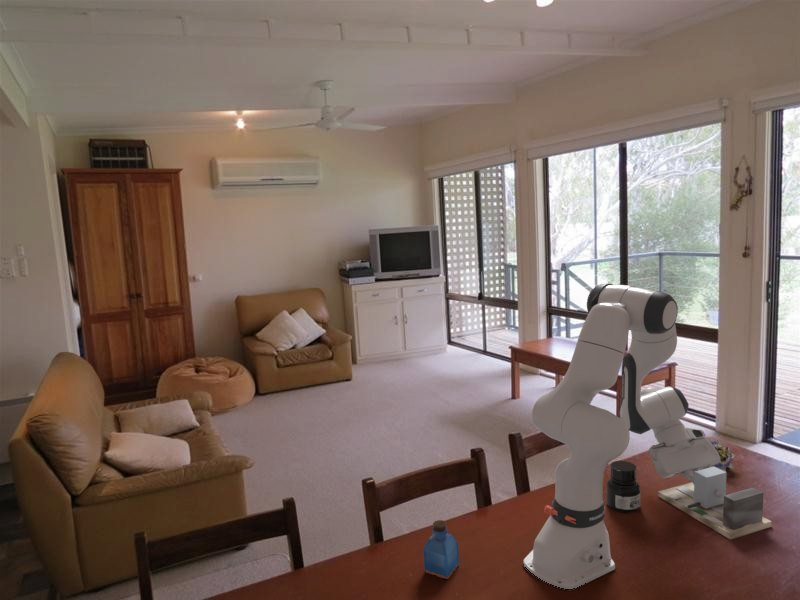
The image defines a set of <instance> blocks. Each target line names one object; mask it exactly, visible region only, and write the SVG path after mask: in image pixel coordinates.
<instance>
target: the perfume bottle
mask: <svg viewBox="0 0 800 600" xmlns="http://www.w3.org/2000/svg"><path fill="white" fill-rule="evenodd" d="M432 526H433V527H432V535H431V536H429V538H428V541H426V543H425V545H424V547H423V551H422V552H423V563H424V564H423V566H424V571H425V570H428V571H430V572H434V573H436V574H440V575H443V576H445V577H448V576H449V575H450V573H451V572H452V571H453V569H454V568H455V567H456V566H457V565H458V563H459V564H460V555H459V542H458V541H457V540H456V539H455V538H456V537H454V536H453V534H451V533H448V527H447V522H446V521H445V520H442V519H439V520H435V521H433V524H432Z"/></svg>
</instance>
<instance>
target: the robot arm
mask: <svg viewBox="0 0 800 600" xmlns="http://www.w3.org/2000/svg"><path fill="white" fill-rule="evenodd" d="M678 308H679V307H678V303H677V301H676V300H675V298H674V297H673V296H672V295H671V294H669V293H668V292H667V293H666V292H664V291H661V290H652V289H649V288H644V287H640V286H636V285H631V284H630V285H628V284H613V283H600V284H597V285H596V286H594V288H592V290H591V291H590V292H589V294H588V295H587V300H586V310H587V311H586V312H587V316H586V318H585V321H584V322H583V324H582V326H581V327H582V328H581V330H580V332H579V335H578V338H577V341H576V344H575V348H574V350H573V351H574V352H573V354H572V357H571V359H570V363H569V366H568V369H567V371H566V372H565V374H564V376H563V377H562V379H561V380H560V382H559V383H558V384H557V385H556V386H555V388H553V389H552V390H550V391H549V392H548V393H545V394H543V395H541V396H540V397H538V399H537V400H536V401H535V403H534V404H533V408H532V411H531V419H532V423H533V424H534V426H535V427H536V429H538V430H539V431H540V432H541V433H543V434H545V436H547V437H549V438H551V439H552V440H556V441H558V442H560V443H563V444H564V445H566V446H568V447H569V449H570V457H567V458H564V459H563V460H562V461H560V462H559V463H558V464H557V466H556V467H555V470H554V484H555V485H554V488H555V492H554V493H555V494H554V496H553V500H552V503H551V506H550V505H549V504H548V505H545V506H544V511H543V512H544V514H547V515H549V516H548V519H547V520H546V521H545V523H544V525H542V527H541V530H540V531H539V533H538V534H537V536H536V537H535V540H534V542H533V549H532V550H531V551H530V552H529V553H528V554H527V555H526V556H525V558H523V560H522V561H523V562H522V564H524V565H523V567H524V568H525V567H526V568H527V569H528V570H529V571H530V572H531V573H533V574H534V575H535V576H537V577H538V578H537V577H536V578H537V579H539V578H540V579H541V580H540V579H539V580H540V581H542V580H543V581H542V582H544V581H545V582H544V583H546V582H547V583H546V584H548V583H549V584H548V585H550V584H552V585H554V586H553V587H555V586H557V587H556V588H558V587H560V588H559V589H561V588H564V589H563V590H565V589H573V588H575V589H577V587H578V588H579V586H580V587H582V586H584V585H586V584H588V583H590V582H592V581H594V580H596V579H597V578H600V577H602V576H604V575H607V574H609V573H610V572H612V571H615V569H616V564H615V562H614V560H613V559H612V556H611V545H610V543H611V542H610V535H609V534H610V533H609V531H608V528H607V527H606V524H605V521H604V519H605V512H606V506H605V501H604V499H603V491H604V489H603V488H604V487H603V486H604V475H605V471H606V469H607V466H608V464H610V462H611V461H613V460H616V459H617V458H619V457H621V456H622V455H624V453H625V451H626V450H627V448H628V447H629V444H630V439H631V438H630V435H631V434H630V432H631V433H634V434H638V435H643V434H645V433H647V432H649V431H651V430H652V432H653V435H654V438H655V440H656V441H657V444H652V445H650V447H649V448H648V454H649V455H650V457H651V459H652V462H653V465H654V467H655V470H656V472H657V474H658V476H659V477H661V478H663V479H667V478H671V477H675V476H678V475H679V476H680V475H682V474H683V475H684V477H685V478H686V479H687V480H689V481H690V483H691V482H693V484H694V474H695V471H698V470H702V469H706V468H707V467H710V466H714V465H716V464H717V463H719V462H720V456H719V454H718V452H717V451H716V449H715V448H714V446H713V445H712V443H711V442H710V441H709V440H708V439H707V437H706V436H707V435H706V433H705V431H704V430H702V429H698V428H697V429H695V428H691V427H686V426H685V425H684V423H683V422H682V421H681V419H682V418H683V417H684V416H686V414H688V413H687V412H688V410H689V407H690V405H689V402H688V400H687V398H686V397H685V395H684V394H683V392H682V391H681V390H680V389H679V388H676V387H674V386H672V385H671V386H670V385H669V386H664V387H658V386H650V387H647V388H645V389H643V390H642V383H643V380H644V379H645V377H646V376H647V375H648V374H649V373H651V372H653V370H655V369H656V368H658V367H659V366H660V365H662V364H664V363H665V362H667V361H668V360H669V359H670V358H671V357H672V356H673V355H674V353H675V352H676V349H677V344H678V333H677V328H676V321H677V318H678V312H679V309H678ZM629 331H630V332H629ZM629 333H630V335H631V342H630V346H629V347H628V350H627V352H626V349H627V343H628V339H629ZM625 352H626V354H625ZM620 370H621V399H620V406H619V411H618V413H619V416H618V415H616V414H614V413H613V412H612V411H609V410H607V409H605V408H601V407H598V406H595V405H592V404H591V403H592V401H593V399H594V398H595V397H596V396H597V395H598V394H599V393H601V392H603V391H606V390H609V389H610V388H612V387H613V386H615V384H616V382H617V380H618V377H619V373H620ZM526 568H525V569H526ZM527 569H526V570H527ZM528 570H527V571H528ZM529 571H528V572H529ZM530 572H529V573H530ZM531 573H530V574H531ZM533 574H532V575H533ZM534 575H533V576H534ZM535 576H534V577H535ZM585 583H586V584H585ZM552 585H551V586H552ZM581 585H582V586H581ZM573 590H574V589H573Z"/></svg>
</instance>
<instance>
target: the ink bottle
mask: <svg viewBox="0 0 800 600" xmlns="http://www.w3.org/2000/svg"><path fill="white" fill-rule="evenodd" d="M606 504H607V506H608V507H609V508H611V509H612V510H615V511H617V512H620V513H634V512H636V511H638V510H640V508H641V485H640V483H639V481H637V466H636V465H635V463H632V462H630V461H626V460H615V461H612V462H611V463H610V478H608V480H607V481H606Z"/></svg>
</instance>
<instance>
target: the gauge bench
mask: <svg viewBox="0 0 800 600" xmlns="http://www.w3.org/2000/svg"><path fill="white" fill-rule="evenodd" d="M657 497H658V498H660V499H662V500H664V501H665V502H666V503H669V504H670V505H672V506H674V507H675V508H677V509H679V510H680V511H682V512H683V513H685V514H687V515H689V516H690V517H692V518H694V519H695V520H696V521H699V522H700V523H702V524H704V525H706V526H707V527H709V528H710V529H712V530H714V531H715V532H717V533H719V534H720V535H722V536H724V537H725V538H727V539H728V540H733V539H734V540H735V539H737V538H740V537H743V536H746V535H750V534H753V533H757V532H759V531H762V530H765V529H768V528H771V527H772V520H770V519H768V518H766V517H764V516H763V514H764V513H763V510H764V491H761V490H759V489H757V488H755V487H750V488H746V489H743V490H739V491H735V492H732V493H731V492H730V493H728V494H726V495H724V504H720V505H717V506H714V507H710V508H707V509H706V508H704V507H702V506H700V505H699V506H695V507H692V508H688V505H691V504H694V503H695V502H694V484H693V482H691V481H690V482H688V483H685V484H681V485H678V486H673V487H670V488H669V487H668V488H666V489H665V488H664V489H661V490H658V491H657Z"/></svg>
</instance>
